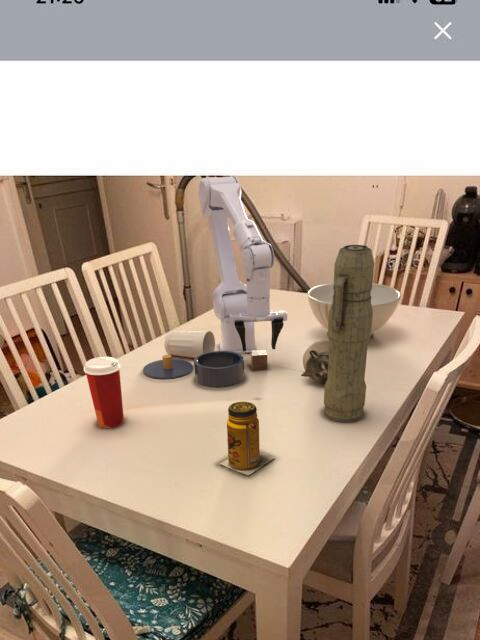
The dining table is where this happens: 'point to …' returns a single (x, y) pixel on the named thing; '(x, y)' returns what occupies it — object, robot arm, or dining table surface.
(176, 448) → the dining table surface
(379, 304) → the decorative bowl
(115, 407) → the paper cup
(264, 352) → the block
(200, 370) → the tin
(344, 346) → the thermos
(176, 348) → the cup
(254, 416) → the condiment
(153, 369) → the lid
